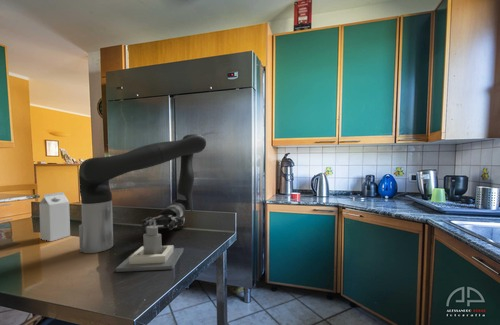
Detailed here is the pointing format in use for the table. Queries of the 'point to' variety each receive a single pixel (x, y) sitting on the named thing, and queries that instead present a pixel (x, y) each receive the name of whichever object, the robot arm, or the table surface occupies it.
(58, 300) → the table surface
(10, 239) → the table surface
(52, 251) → the table surface
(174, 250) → the docking plate
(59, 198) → the milk carton
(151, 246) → the power adapter
